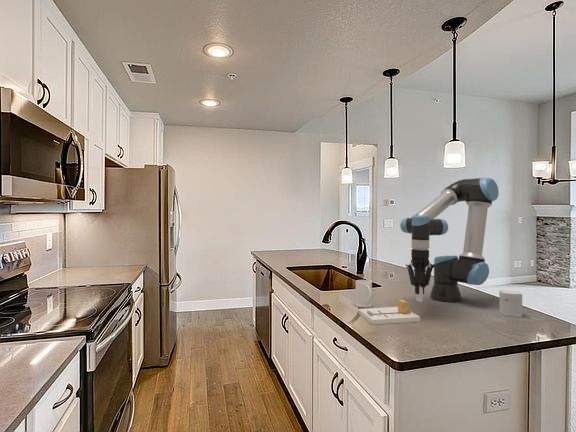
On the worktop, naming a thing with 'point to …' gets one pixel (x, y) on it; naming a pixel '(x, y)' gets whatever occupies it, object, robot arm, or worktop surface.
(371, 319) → the console
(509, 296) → the small box
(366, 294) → the mug
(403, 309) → the fader
